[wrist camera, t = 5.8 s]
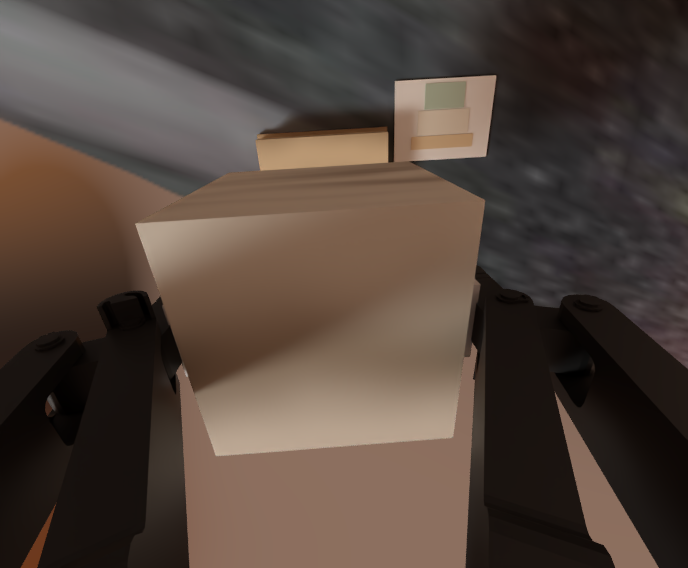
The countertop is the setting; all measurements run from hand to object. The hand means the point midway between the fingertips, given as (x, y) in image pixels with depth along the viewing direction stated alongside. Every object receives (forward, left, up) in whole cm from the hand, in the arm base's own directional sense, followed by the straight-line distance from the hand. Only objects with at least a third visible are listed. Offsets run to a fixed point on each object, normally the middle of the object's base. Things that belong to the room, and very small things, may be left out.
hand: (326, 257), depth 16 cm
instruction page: (-6, +10, -15) cm, 19 cm away
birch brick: (0, 0, 0) cm, 0 cm away
